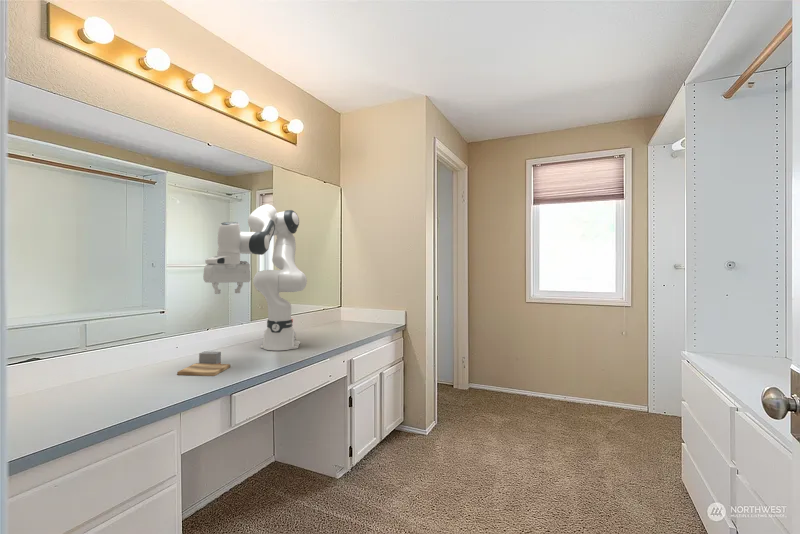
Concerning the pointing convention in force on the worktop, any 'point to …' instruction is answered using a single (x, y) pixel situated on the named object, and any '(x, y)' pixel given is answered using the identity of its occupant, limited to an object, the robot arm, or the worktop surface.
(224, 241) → the robot arm
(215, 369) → the board
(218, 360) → the sanding block
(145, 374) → the worktop surface
